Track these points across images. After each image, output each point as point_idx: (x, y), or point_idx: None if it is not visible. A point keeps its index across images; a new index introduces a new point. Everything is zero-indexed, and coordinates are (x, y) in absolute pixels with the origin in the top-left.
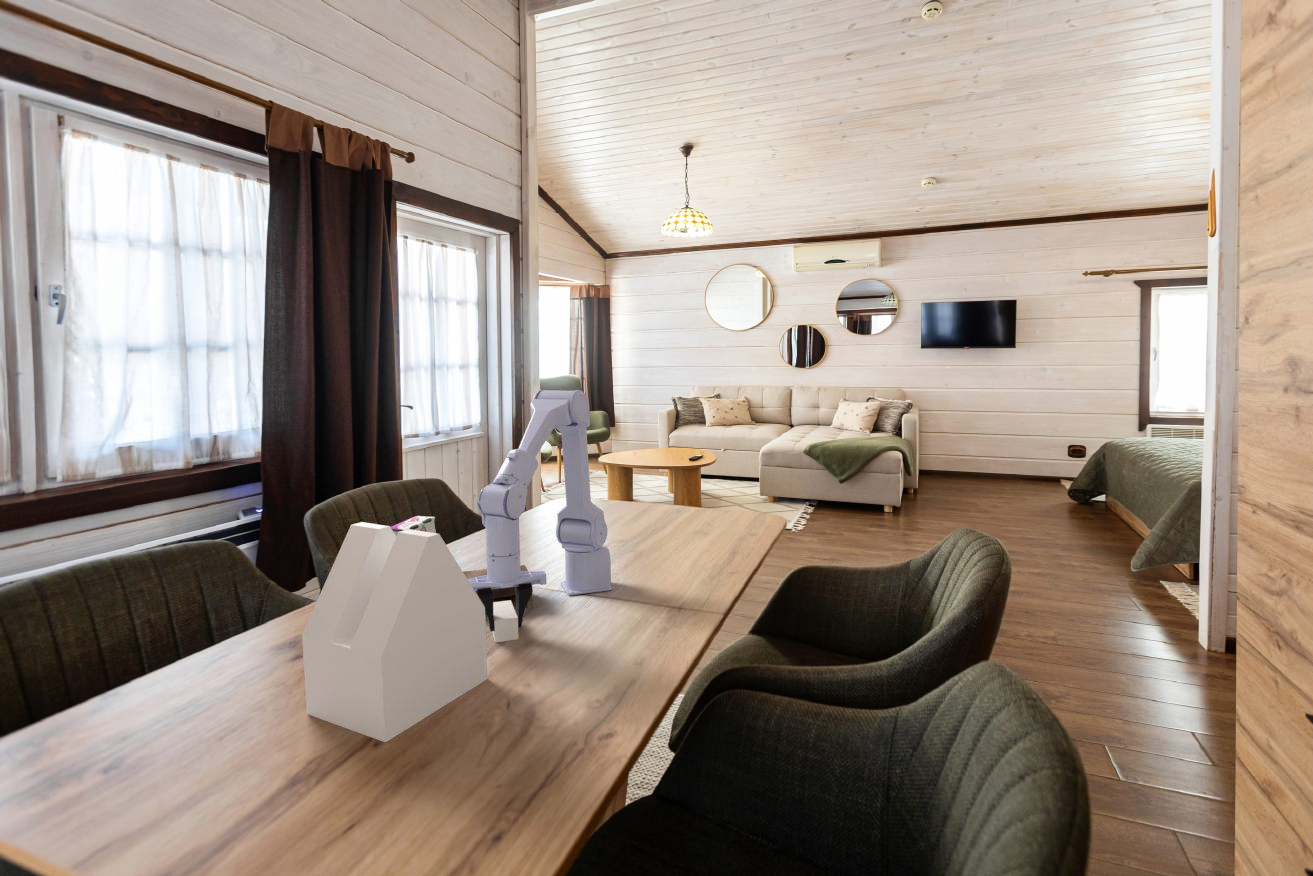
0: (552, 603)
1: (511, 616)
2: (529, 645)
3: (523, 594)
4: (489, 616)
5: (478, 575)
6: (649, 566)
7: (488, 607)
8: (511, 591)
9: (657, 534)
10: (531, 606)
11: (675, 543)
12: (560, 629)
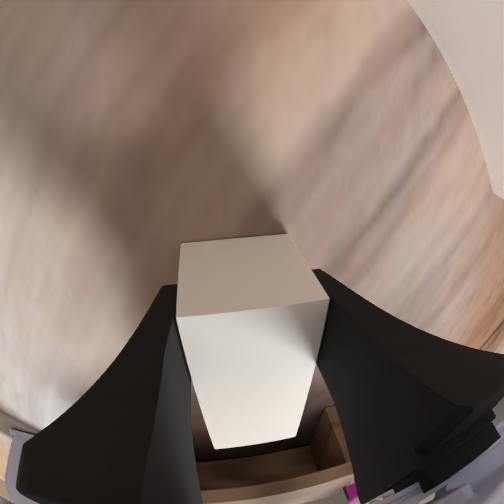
0: None
1: (217, 337)
2: (130, 164)
3: (91, 475)
4: (372, 311)
5: (295, 500)
6: (4, 453)
7: (418, 347)
8: (207, 470)
9: None
10: None
11: None
12: (28, 295)
